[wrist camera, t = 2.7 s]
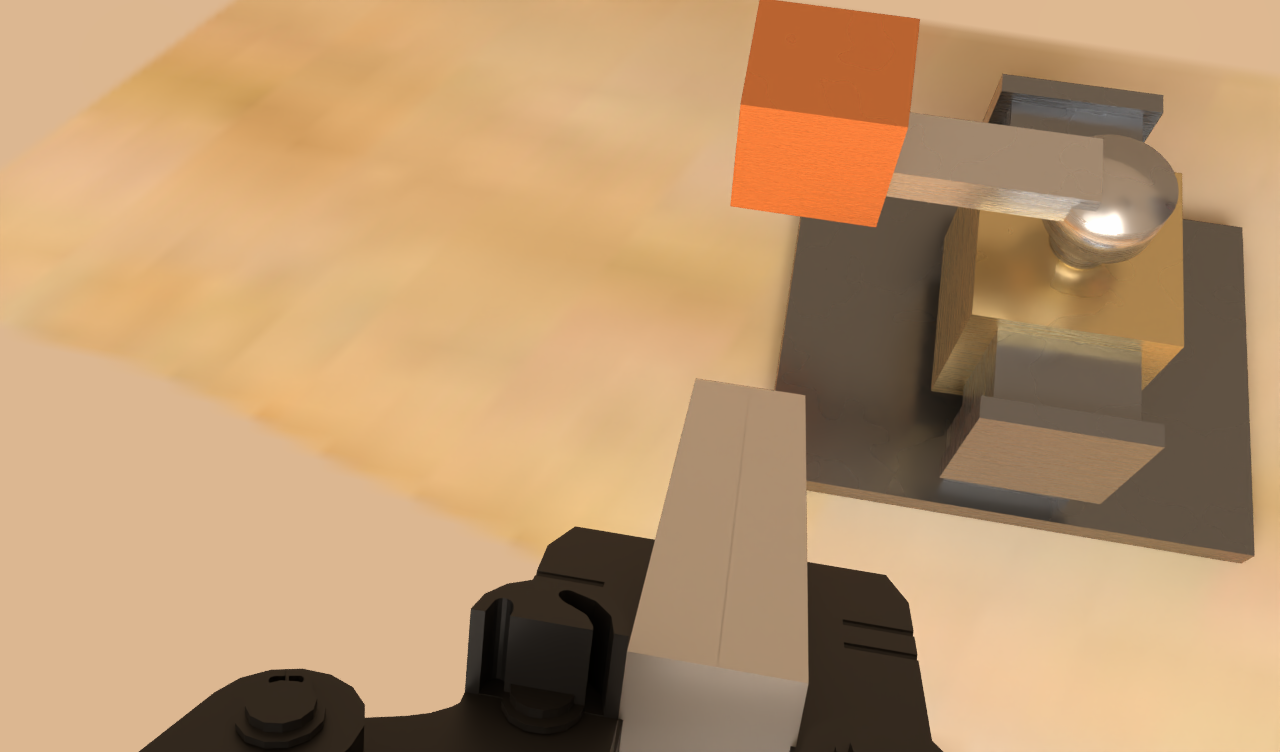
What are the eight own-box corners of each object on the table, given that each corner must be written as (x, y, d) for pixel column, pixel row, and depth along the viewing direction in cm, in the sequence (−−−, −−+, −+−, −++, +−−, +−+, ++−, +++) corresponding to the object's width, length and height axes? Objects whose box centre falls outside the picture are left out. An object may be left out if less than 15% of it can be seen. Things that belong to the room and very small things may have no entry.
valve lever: (1155, 173, 29) (1232, 59, 25) (1155, 275, 27) (1237, 173, 24) (746, 115, 30) (760, -2, 26) (729, 212, 28) (740, 104, 24)
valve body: (1230, 240, 37) (1367, 84, 30) (1241, 563, 33) (1404, 471, 26) (806, 179, 38) (838, 16, 31) (760, 482, 34) (787, 373, 27)
